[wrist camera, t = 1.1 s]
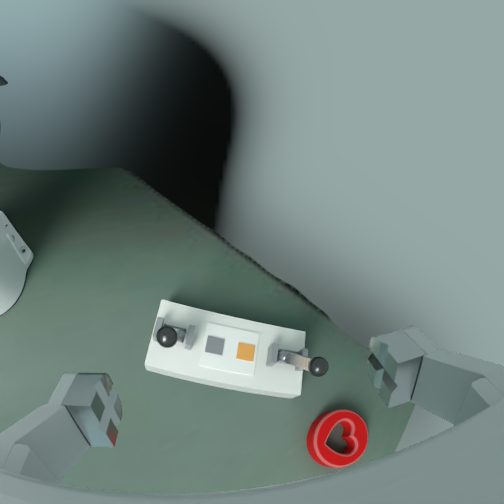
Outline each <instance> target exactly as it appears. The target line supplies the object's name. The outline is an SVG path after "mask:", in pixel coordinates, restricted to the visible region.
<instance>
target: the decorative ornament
mask: <svg viewBox="0 0 504 504" xmlns="http://www.w3.org/2000/svg"><path fill="white" fill-rule="evenodd" d="M338 423H341V424H342V425H343V428H344V431H343V435H342V436H341V437H342V438H343V439H344V440H345V441H346V443H347V448H346V450H345V451H344V452H343V453H338V452H336V451H334V450H332V449H331V448H330V447H329V446H328V445H326V441H327V439H328V437H329V435H330V433H331V431H332V429H333V428H334V427H335V426H336V425H337V424H338ZM367 444H368V429H367V426H366V424H365V422H364V420H363V419H362V418H361V417H360V416H359V415H358V414H357V413H355V412H353V411H351V410H346V409H339V410H335V411H330V412H327V413H324V414H323V415H321V416H319V417H318V418H317V419H316V420H315V421H314V422H313V423H312V425H311V427H310V429H309V432H308V435H307V448H308V451H309V453H310V455H311V457H312V458H313V459H314V460H315V461H316V462H317V463H319V464H321V465H323V466H327V467H336V468H341V467H346V466H349V465H351V464H353V463H354V462H356V461H357V460H358V459H359V458H360V457H361V456H362V455H363V453H364V451H365V450H366V447H367Z"/></svg>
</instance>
